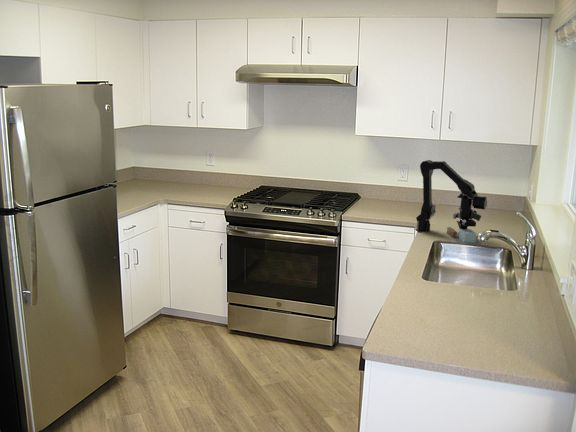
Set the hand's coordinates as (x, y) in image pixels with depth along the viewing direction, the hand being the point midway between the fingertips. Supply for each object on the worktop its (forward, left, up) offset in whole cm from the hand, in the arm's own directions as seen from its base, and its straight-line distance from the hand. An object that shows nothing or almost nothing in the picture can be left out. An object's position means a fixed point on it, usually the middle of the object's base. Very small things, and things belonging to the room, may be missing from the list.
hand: (462, 234), depth 322 cm
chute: (0, +4, -2) cm, 5 cm away
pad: (0, -7, -2) cm, 7 cm away
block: (0, -6, -1) cm, 6 cm away
